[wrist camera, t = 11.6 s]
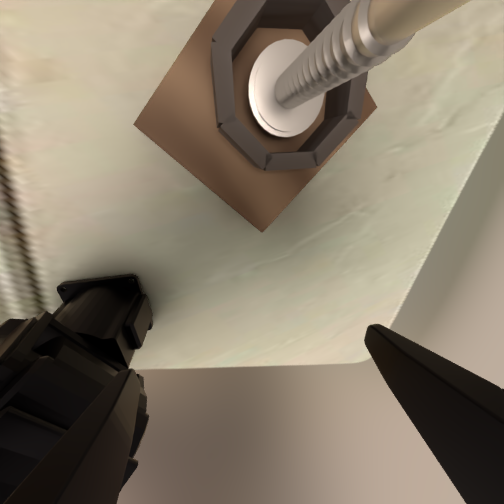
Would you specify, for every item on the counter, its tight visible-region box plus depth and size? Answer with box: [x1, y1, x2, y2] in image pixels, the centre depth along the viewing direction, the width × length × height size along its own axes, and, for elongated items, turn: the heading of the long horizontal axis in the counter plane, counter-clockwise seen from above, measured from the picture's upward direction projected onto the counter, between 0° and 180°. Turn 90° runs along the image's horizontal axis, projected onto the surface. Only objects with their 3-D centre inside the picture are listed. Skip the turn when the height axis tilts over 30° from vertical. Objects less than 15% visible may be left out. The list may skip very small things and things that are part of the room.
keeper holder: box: [133, 0, 377, 232], centre depth 14 cm, size 13×12×4 cm
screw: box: [248, 0, 471, 137], centre depth 9 cm, size 13×5×5 cm
